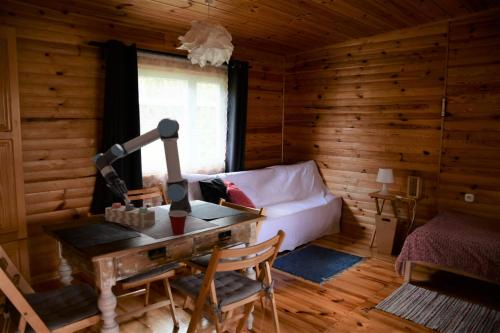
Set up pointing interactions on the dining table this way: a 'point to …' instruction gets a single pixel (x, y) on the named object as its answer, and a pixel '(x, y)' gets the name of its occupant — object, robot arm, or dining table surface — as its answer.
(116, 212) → the control box
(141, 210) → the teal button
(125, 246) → the dining table surface
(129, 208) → the grey button
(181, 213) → the plastic cup
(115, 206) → the red button
